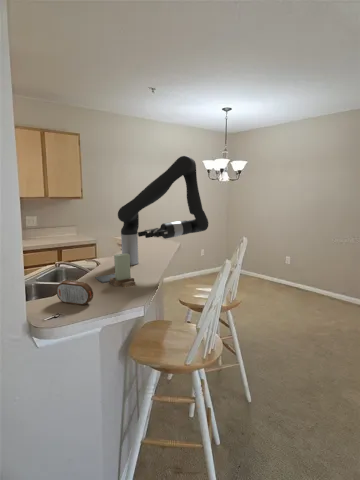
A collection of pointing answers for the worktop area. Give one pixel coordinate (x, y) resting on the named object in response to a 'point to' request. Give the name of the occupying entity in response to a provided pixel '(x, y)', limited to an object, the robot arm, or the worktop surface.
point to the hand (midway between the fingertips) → (141, 235)
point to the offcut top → (128, 283)
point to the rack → (118, 283)
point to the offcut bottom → (128, 286)
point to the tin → (74, 292)
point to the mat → (105, 278)
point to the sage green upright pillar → (122, 266)
